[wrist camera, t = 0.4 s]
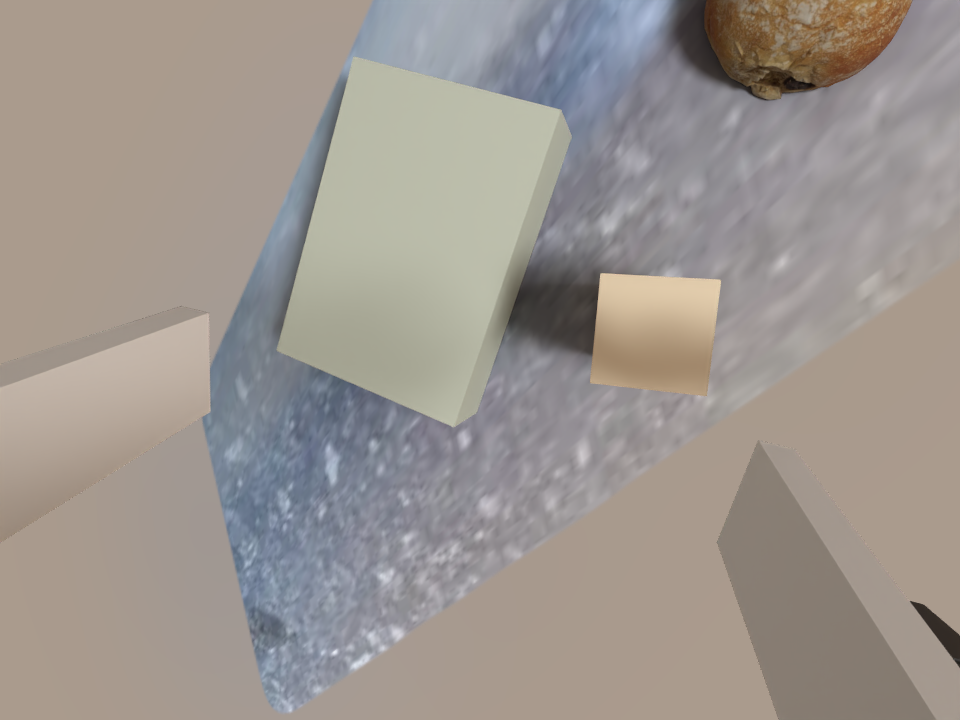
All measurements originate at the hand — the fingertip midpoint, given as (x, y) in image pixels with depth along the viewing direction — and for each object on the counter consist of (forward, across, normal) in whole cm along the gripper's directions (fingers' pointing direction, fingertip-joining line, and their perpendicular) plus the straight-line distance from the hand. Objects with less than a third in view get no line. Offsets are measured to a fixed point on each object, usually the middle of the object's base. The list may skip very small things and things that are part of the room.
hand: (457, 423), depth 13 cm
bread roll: (+28, +11, +17) cm, 35 cm away
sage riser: (+27, -8, -1) cm, 28 cm away
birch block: (+24, +8, -2) cm, 25 cm away
